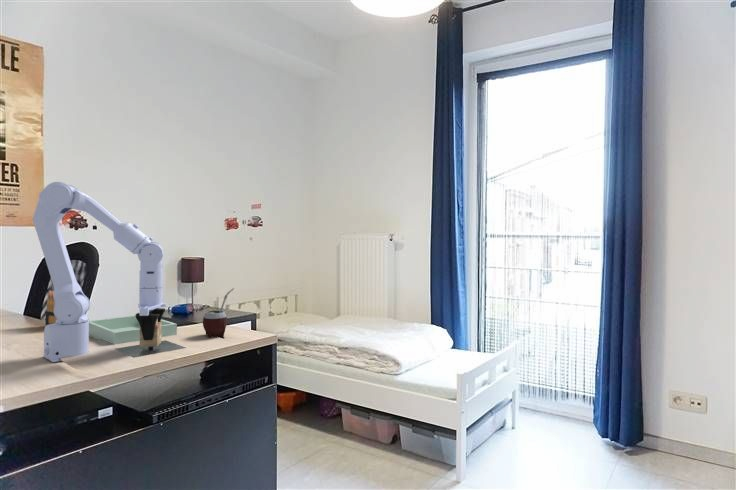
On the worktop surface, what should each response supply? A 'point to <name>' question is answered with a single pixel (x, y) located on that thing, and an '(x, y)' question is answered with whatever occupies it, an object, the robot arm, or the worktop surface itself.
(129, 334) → the bin
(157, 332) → the square capped bottle
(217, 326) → the mate gourd
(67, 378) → the worktop surface
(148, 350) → the base
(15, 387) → the worktop surface
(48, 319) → the ammunition clip
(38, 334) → the worktop surface
